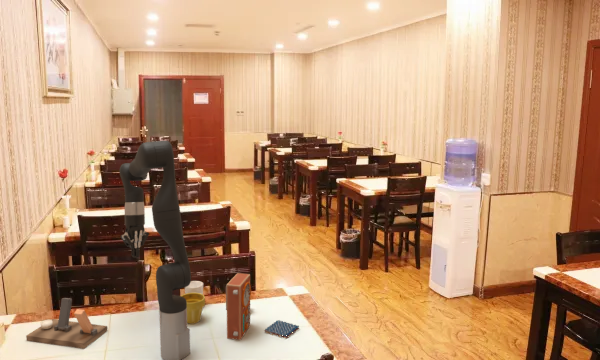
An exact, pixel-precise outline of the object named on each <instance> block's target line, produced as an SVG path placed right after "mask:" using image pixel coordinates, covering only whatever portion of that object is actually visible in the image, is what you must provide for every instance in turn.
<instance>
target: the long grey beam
mask: <svg viewBox="0 0 600 360" xmlns="http://www.w3.org/2000/svg"><path fill="white" fill-rule="evenodd" d="M72 304H73V299H72V298H70V297H69V298H68V297H63V298H61V301H60V309H59V314H58V315H59V316H58V320H59V321H58V329H60V330H65V328H66V327H67V326H68V325H69V321H70V318H71V317H70V316H71V311H72V310H71V309H72Z"/></svg>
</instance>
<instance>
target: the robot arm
mask: <svg viewBox="0 0 600 360" xmlns="http://www.w3.org/2000/svg"><path fill="white" fill-rule="evenodd" d="M153 169H163V171H162V172H163V177H162V181H161V185H160V187H159V190H158V192H157V193H156V196H155V198H154V200H153V202H152V206H151V214H152V220H153V221H152V222H153V225H154V228H155V231H156V232H157V233H158V234H159V235H160V237H161V239H163V240H164V241H165V243H166V244H167V245H168V246H169V248H170V250H171V252H172V257H173V262H170V263H166V264H161V265H159V266H158V267H157V269H156V271H155V282H156V283H155V284H156V293H157V295H156V296H157V302H158V310H159V311H158V312H159V313H158V314H159V334H160V335H159V339H160V357H161V359H163V360H184V358H186V357H187V356H188V355H190V354H191V341H190V340H191V335H190V334H191V333H190V331H191V330H190V328H188V323H187V301H186V299H185V298H184V297H181V295H176V294H173V291H176V290H180V289H183V288H184V289H185V287H187V286H188V285H189V284H190V282H191V281H192V272H191V267H190V261H189V257H188V253H187V249H186V244H185V239H184V233H183V232H184V231H183V224H182V223H183V222H182V217H181V210H180V209H181V208H180V202H179V196H178V190H177V180H176V168H175V155H174V149H173V145H172V143H171V141H169V140H158V141H157V140H156V141H146V142H142V143H141V144H140V145H139V146H138V149H137V152H136V154H135V157H134V159H133V160H132V161H131V162H127V163H126V162H125V163H122V164H121V165H120V167H119V176H120V179H121V182H122V186H123V190H124V202H125V203H124V225H125V230H124V231H125V232H124V234H121V235H120V239H121V240H122V241H123V243H124V244H125V246H126V247H127V248H130V249H131V257H132V258H135V259H136V258H139V257H140V253H141V251H140V248H141V247H142V246H144V245H145V243H146V241H147V239H148V237H149V235H150V232H147V231H146V230H145V227H144V226H145V224H146V216H145V215H146V213H145V201H144V189H143V188H142V187H140V186H134V185H133V184H132V183H131V182H139V181H140V182H142V181H145V180H146V179H147V178H148V173H149V172H151V170H153Z"/></svg>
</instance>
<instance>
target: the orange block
mask: <svg viewBox="0 0 600 360" xmlns="http://www.w3.org/2000/svg"><path fill="white" fill-rule="evenodd" d="M73 315H74V316H75V318H76V320H77V322H79V324H80V326H81V328H82V330H83V332H84V333H89V334H91V331H92V330H94V329H93V326H92V324H93V323H91V320H90V319H89V316H88V315H87V313H86V311H85V309H80V308H76V310H75V311H74V312H73Z"/></svg>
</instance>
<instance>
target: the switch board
mask: <svg viewBox="0 0 600 360" xmlns="http://www.w3.org/2000/svg"><path fill="white" fill-rule="evenodd" d="M51 320H52V322H53V327H51V328H49V329H41V326H39V327H37V329H34V330H33V331H31V332H30V333H28V334H27V335H25V338H26V342H33V343H42V344H49V345H53V346H54V345H55V346H61V347H69V348H76V349H83V350H84V349H86V348H87V347H88V346H90V345H91V344H93V343H94V342H95V341H96V340H97V339H99V338H101V336H103V335H104V334H106V333H107V332H108V325H102V324H94V323H91V324H92V326H93V329H94V330H92V331H91V334H89V333H84V332H83V330H82V328H81V326H80V324H79V322H78V321H71V320H69V325H68V326H67V327H66V328H65V330H60V329H58V321H59V319H55V318H53V319H51Z"/></svg>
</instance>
